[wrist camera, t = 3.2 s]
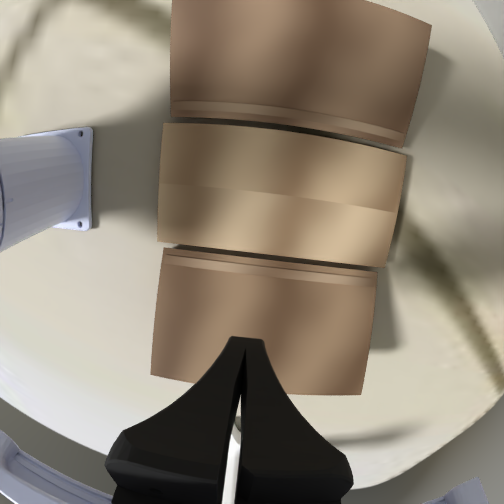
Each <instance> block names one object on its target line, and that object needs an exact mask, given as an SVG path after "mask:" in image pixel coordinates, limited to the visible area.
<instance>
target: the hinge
mask: <svg viewBox="0 0 504 504" xmlns="http://www.w3.org/2000/svg"><path fill="white" fill-rule="evenodd" d="M473 2H474V4H475V5H476V7H477V8H478V10H479V12H480V13H481V15H482V17H483V19H484V20H485V22H486V24H487V26H488V28H489V30H490V31H491V33H492V35H493V37H494V39H495V41H496V43H497V45H498V48H499V50H500V52H501V54H502V56H503V58H504V0H473Z"/></svg>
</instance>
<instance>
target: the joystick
mask: <svg viewBox="0 0 504 504" xmlns="http://www.w3.org/2000/svg"><path fill="white" fill-rule="evenodd" d="M240 445H241V432H240V431H238V429H237V427H236V425H235V423H234V425H233V430H232V434H231V439H230V444H229V452H228V460H227V468H226V476H225V484H224V492H223V500H222V504H234V500H235V491H236V482H237V473H238V464H239V454H240Z"/></svg>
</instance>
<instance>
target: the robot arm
mask: <svg viewBox="0 0 504 504" xmlns="http://www.w3.org/2000/svg"><path fill="white" fill-rule="evenodd" d="M82 131H83V136H82V137H81V132H82ZM92 143H93V130H92V128H91V127H82V128H72V129H64V130H56V131H49V132H42V133H36V134H30V135H25V136H20V137H14V138H2V139H0V252H2V251H4V250H6V249H8V248H10V247H11V246H13V245H15V244H17V243H19V242H21V241H23V240H25V239H27V238H29V237H31V236H33V235H35V234H37V233H40V232H42V231H44V230H46V229H48V228H50V227H54V228H63V229H72V230H81V231H88V230H89V229H91V227H92V215H91V163H92ZM80 222H82V226H81V225H80ZM240 395H241V445H240V454H239V464H238V473H237V482H236V491H235V500H234V504H341V498H342V497H343V496H344V495H345V494H346V493H347V492H348V491H349V490H350V489H351V488H352V486H353V484H354V482H353V475H352V471H351V468H350V465H349V463H348V460H347V458H346V456H345V455H344V454H343V453H342V452H340V451H339V450H338V449H336V448H335V447H334V446H332V445H331V444H330V443H329V442H328V441H326V440H325V439H324V438H323V437H322V436H321V435H320V434H319V433H318V432H317V431H316V430H315V429H314V428H313V427H312V426H311V425H310V424H309V423H308V422H307V420H306V419H305V418H304V417H303V416H302V415H301V414H300V412H299V411H298V410H297V408H296V407H295V406H294V404H293V403H292V401H291V400H290V399H289V397H288V396H287V394H286V392H285V391H284V389H283V387H282V385H281V384H280V382H279V380H278V378H277V376H276V374H275V372H274V369H273V367H272V365H271V363H270V360H269V357H268V355H267V351H266V348H265V343H264V341H263V340H262V339H257V338H247V337H238V336H231V337H229V339H228V341H227V343H226V345H225V347H224V349H223V350H222V352H221V353H220V355H219V356H218V357H217V359H216V360H215V362H214V363H213V364H212V366H211V367H210V368H209V369H208V370H207V371H206V373H205V374H204V375H203V376H202V377H201V378H200V379H199V380H198V381H197V382H196V383H195V384H194V385H193V386H192V387H191V388H190V389H189V390H188V391H187V392H186V393H185V394H183V395H182V396H181V397H180V398H178V399H177V400H176V401H175V402H173V403H172V404H171V405H169V406H168V407H166V408H165V409H163V410H162V411H160V412H158V413H157V414H155V415H153V416H152V417H150V418H148V419H146V420H145V421H143V422H140V423H138V424H136V425H134V426H132V427H130V428H127V429H125V430H123V431H122V432H121V434H120V435H119V436H118V438H117V439H116V441H115V442H114V444H113V446H112V447H111V450H110V452H109V454H108V457H107V459H106V461H105V467H106V469H107V471H108V472H109V474H110V475H111V477H112V478H113V480H114V481H115V482H116V484H117V487H116V490H115V493H114V495H113V496H112V495H109V494H107V493H104V492H101V491H99V490H97V489H94V488H91V487H89V486H87V485H85V484H83V483H80V482H78V481H76V480H74V479H72V478H70V477H68V476H66V475H64V474H62V473H60V472H58V471H56V470H54V469H52V468H50V467H48V466H47V465H45V464H43V463H41V462H40V461H38V460H37V459H35V458H33V457H32V456H30V455H28V454H27V453H25V452H23V451H22V450H20V449H19V447H18V446H17V444H16V443H15V442H14V441H13V440H12V439H11V438H10V437H9V436H8V435H7V434H5V433H4V432H3V431H1V430H0V493H2V494H3V495H4V496H5V497H7V498H8V499H9V500H11V501H12V502H14V503H15V504H222V500H223V492H224V484H225V476H226V468H227V460H228V452H229V444H230V439H231V434H232V430H233V425H234V421H235V417H236V413H237V408H238V404H239V400H240ZM421 504H489V502H488V500H487V497H486V495H485V492H484V489H483V487H482V484H481V482H480V479H479V477H475V478H473V479H471V480H468V481H466V482H464V483H461V484H459V485H457V486H455V487H454V488H452V489H451V490H450V491H448V492H447V493H446V494H445V495H444V496H442V497H439V498H436V499H433V500H431V501H428V502H425V503H421Z"/></svg>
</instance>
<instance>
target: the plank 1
mask: <svg viewBox="0 0 504 504" xmlns="http://www.w3.org/2000/svg"><path fill="white" fill-rule="evenodd" d="M431 27H432V25H430V24H427V23H425V22H423V21H421V20H418V19H416V18H414V17H411V16H409V15H406V14H404V13H401V12H398V11H396V10H393V9H390V8H387V7H384V6H381V5H378V4H375V3H372V2H369V1H365V0H172V14H171V42H170V100H171V117H202V118H222V119H236V120H248V121H258V122H268V123H276V124H284V125H291V126H298V127H305V128H311V129H317V130H323V131H328V132H334V133H339V134H344V135H348V136H353V137H358V138H362V139H367V140H371V141H375V142H379V143H383V144H387V145H391V146H394V147H398V148H402V147H403V143H404V140H405V137H406V134H407V131H408V127H409V124H410V120H411V117H412V113H413V110H414V106H415V102H416V98H417V95H418V91H419V87H420V82H421V78H422V74H423V69H424V65H425V60H426V55H427V50H428V45H429V39H430V33H431Z"/></svg>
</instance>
